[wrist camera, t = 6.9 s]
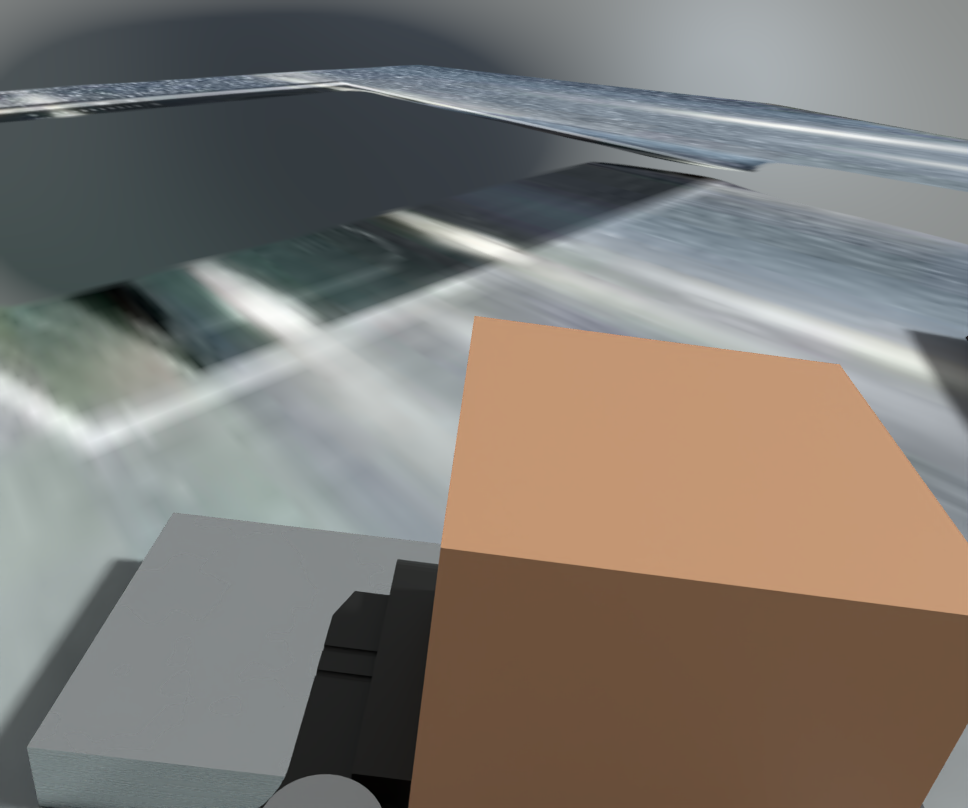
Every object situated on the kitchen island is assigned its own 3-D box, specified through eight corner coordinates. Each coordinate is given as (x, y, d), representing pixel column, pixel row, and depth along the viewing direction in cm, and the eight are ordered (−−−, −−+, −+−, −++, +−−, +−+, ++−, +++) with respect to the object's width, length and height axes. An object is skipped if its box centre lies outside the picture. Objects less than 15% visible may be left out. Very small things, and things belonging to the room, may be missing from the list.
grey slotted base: (38, 805, 20) (25, 743, 19) (177, 562, 28) (173, 509, 27) (1130, 929, 20) (1174, 875, 19) (962, 654, 28) (987, 605, 27)
